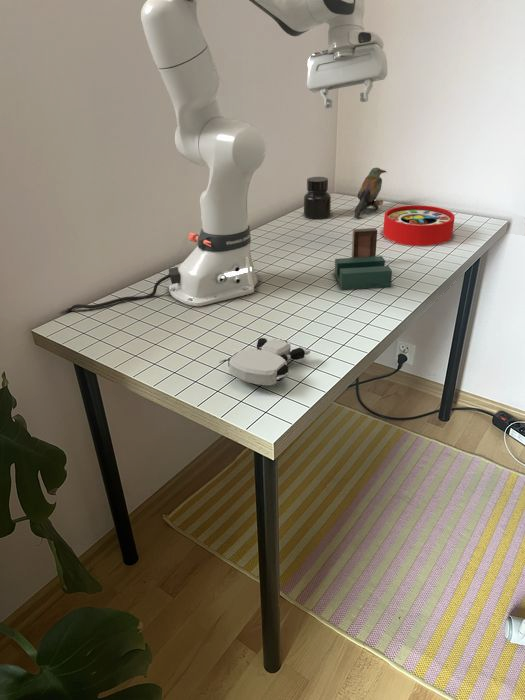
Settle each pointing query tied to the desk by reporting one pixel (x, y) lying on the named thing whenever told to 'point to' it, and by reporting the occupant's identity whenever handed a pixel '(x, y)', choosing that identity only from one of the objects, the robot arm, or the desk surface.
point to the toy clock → (418, 225)
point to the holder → (362, 272)
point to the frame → (364, 242)
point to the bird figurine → (369, 192)
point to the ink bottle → (317, 198)
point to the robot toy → (264, 361)
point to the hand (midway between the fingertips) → (345, 104)
